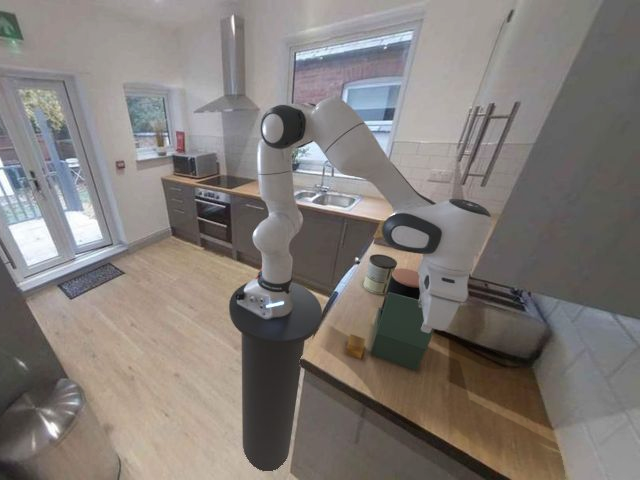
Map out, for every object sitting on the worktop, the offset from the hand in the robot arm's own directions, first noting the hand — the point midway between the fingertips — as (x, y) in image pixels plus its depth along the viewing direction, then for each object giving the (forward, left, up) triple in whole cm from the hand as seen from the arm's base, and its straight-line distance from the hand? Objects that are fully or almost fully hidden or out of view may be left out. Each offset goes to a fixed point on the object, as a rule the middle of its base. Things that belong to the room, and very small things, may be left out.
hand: (423, 317), depth 64 cm
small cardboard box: (-5, +109, -23) cm, 111 cm away
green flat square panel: (-2, +6, -7) cm, 9 cm away
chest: (-2, +12, -23) cm, 26 cm away
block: (-13, +4, -23) cm, 27 cm away
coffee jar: (-1, +29, -23) cm, 37 cm away
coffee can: (-9, +45, -23) cm, 52 cm away
